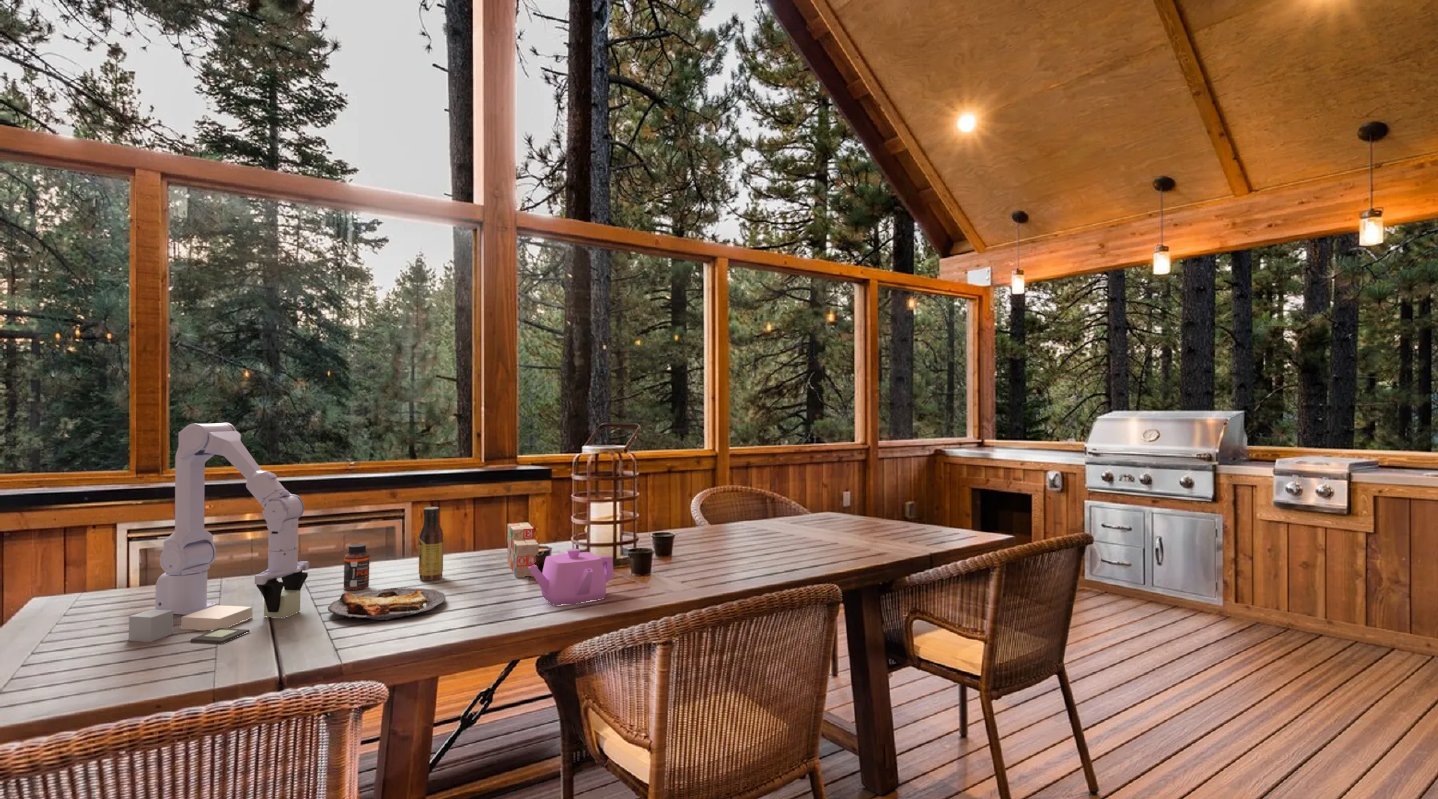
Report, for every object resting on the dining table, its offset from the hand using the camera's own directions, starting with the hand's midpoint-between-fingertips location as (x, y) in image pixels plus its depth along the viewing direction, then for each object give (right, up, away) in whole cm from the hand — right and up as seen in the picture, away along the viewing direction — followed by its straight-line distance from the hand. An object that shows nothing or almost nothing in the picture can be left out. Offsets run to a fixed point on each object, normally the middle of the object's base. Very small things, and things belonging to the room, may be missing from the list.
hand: (282, 608), depth 160 cm
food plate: (+22, -2, +6) cm, 23 cm away
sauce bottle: (+20, -2, +34) cm, 39 cm away
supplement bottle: (+5, -2, +24) cm, 24 cm away
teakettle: (+63, -3, +16) cm, 65 cm away
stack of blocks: (+42, -3, +47) cm, 63 cm away
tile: (-3, -1, -16) cm, 16 cm away
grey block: (-17, -1, -16) cm, 23 cm away
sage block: (0, -1, 0) cm, 1 cm away
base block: (-10, -2, -7) cm, 12 cm away
